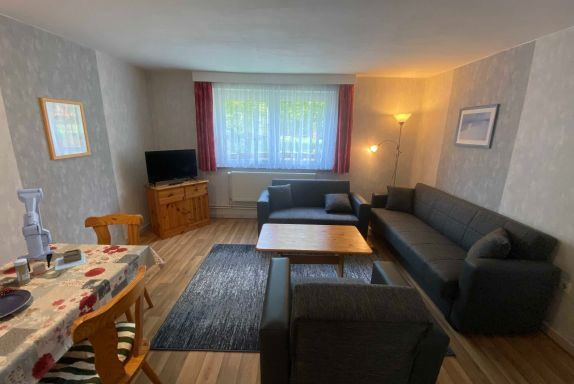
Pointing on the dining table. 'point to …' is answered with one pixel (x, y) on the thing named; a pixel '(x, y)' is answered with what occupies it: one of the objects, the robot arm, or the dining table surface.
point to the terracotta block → (39, 268)
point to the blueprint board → (61, 265)
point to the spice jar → (22, 271)
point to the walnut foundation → (72, 256)
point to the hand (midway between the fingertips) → (39, 269)
